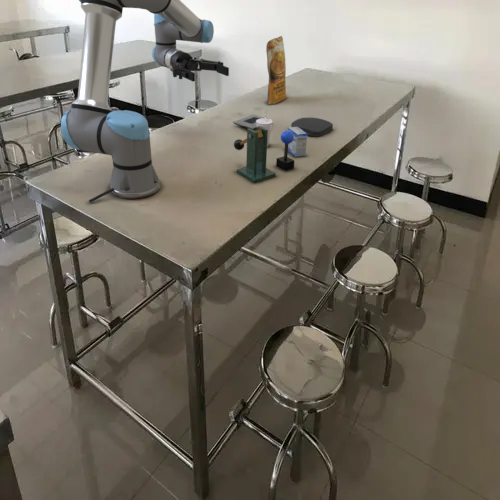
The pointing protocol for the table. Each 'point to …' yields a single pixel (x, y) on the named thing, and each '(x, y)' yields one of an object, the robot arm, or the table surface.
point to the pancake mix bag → (276, 70)
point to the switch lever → (245, 141)
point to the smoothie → (265, 125)
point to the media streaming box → (313, 126)
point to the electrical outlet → (248, 121)
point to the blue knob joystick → (285, 153)
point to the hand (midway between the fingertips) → (211, 74)
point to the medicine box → (298, 142)
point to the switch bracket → (256, 157)
